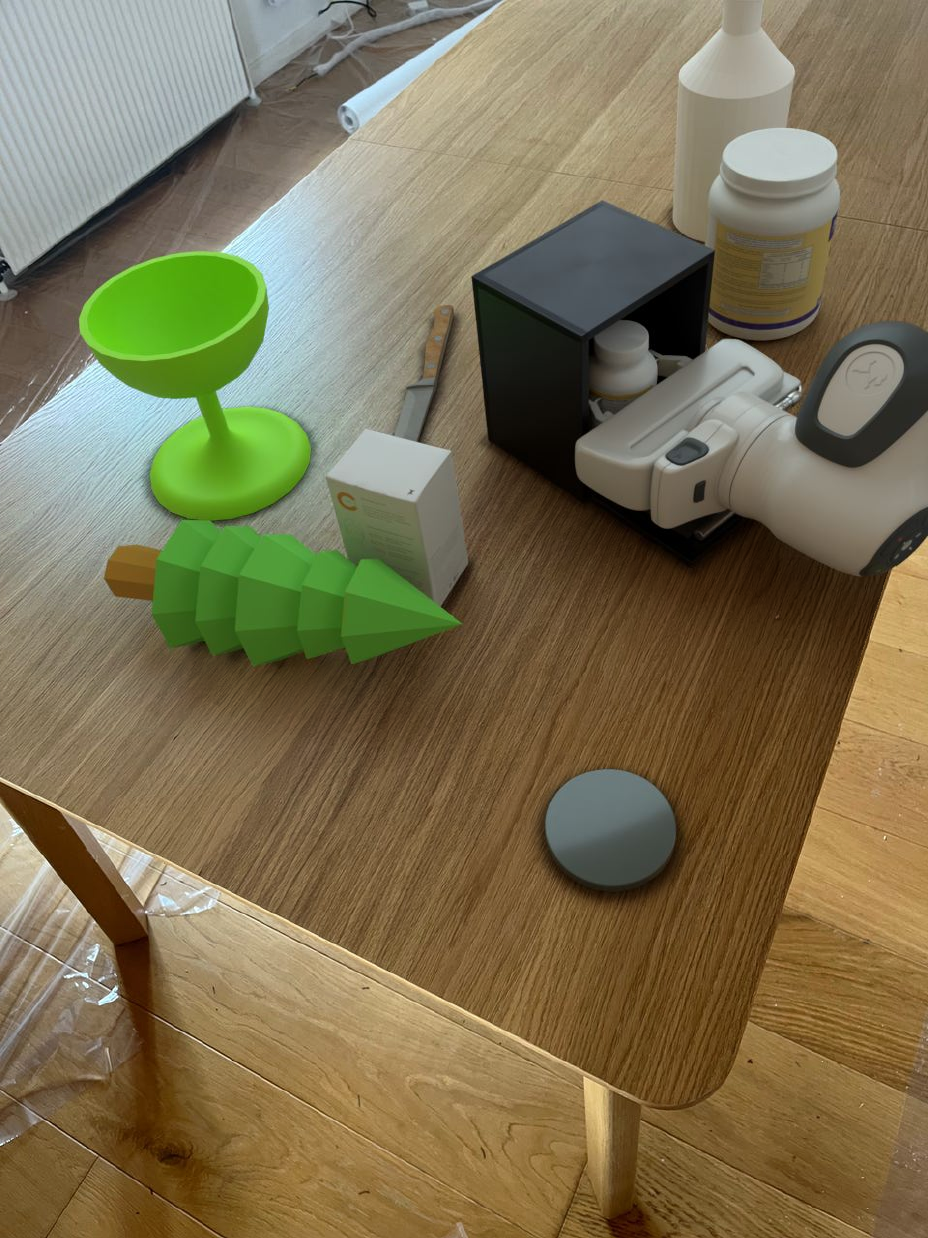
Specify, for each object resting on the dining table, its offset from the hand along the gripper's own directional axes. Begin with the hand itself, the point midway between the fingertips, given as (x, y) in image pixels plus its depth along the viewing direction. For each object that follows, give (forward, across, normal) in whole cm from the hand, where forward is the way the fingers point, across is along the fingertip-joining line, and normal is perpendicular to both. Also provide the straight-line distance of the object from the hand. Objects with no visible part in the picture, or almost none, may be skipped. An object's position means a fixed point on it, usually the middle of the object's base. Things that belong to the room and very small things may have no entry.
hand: (611, 379), depth 91 cm
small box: (+1, +24, +8) cm, 25 cm away
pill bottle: (-1, 0, +7) cm, 7 cm away
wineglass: (+25, +27, +8) cm, 38 cm away
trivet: (-28, +30, +8) cm, 41 cm away
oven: (-3, 0, +7) cm, 8 cm away
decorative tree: (+2, +36, +8) cm, 37 cm away
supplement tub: (+3, -25, +7) cm, 27 cm away
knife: (+18, +9, +7) cm, 22 cm away
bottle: (+18, -38, +7) cm, 42 cm away
